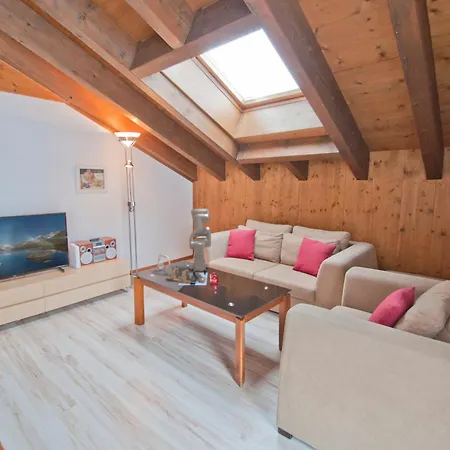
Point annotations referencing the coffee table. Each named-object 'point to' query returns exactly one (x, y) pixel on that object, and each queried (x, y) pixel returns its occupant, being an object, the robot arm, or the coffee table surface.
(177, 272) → the rack
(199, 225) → the robot arm
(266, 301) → the coffee table surface
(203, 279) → the spanner
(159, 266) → the headset
